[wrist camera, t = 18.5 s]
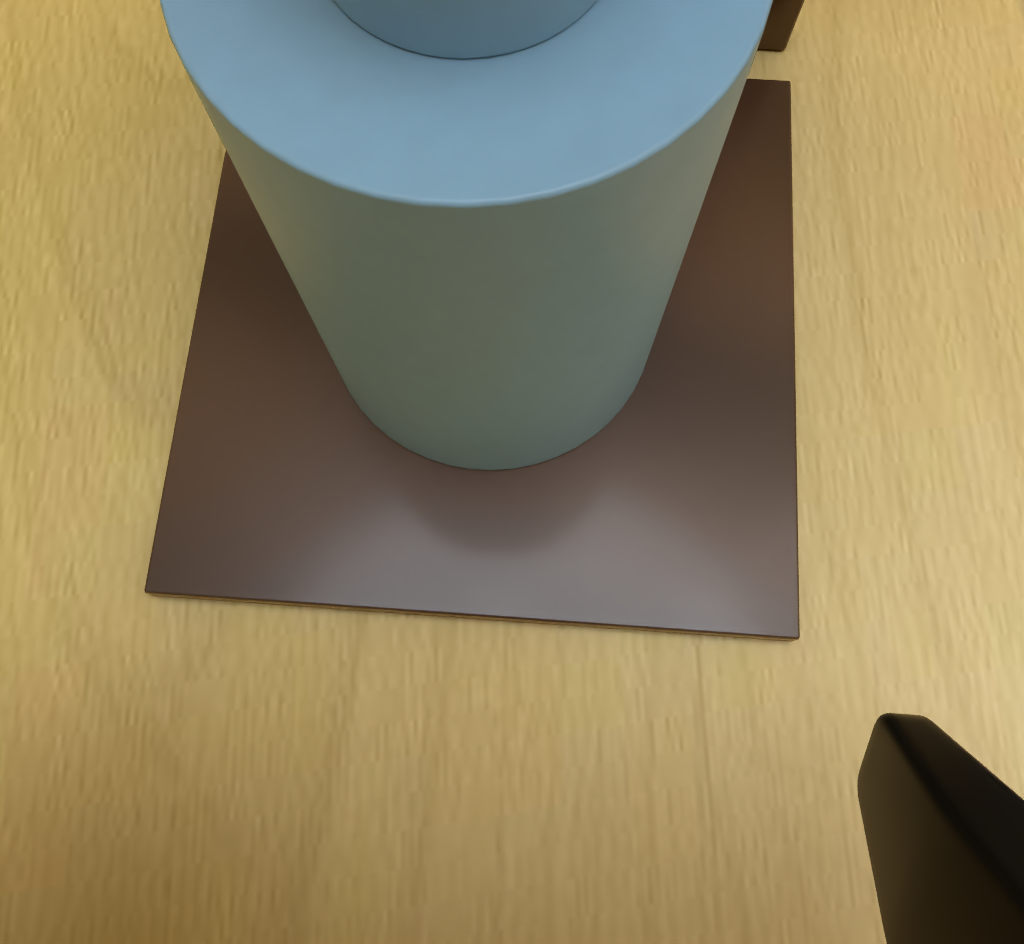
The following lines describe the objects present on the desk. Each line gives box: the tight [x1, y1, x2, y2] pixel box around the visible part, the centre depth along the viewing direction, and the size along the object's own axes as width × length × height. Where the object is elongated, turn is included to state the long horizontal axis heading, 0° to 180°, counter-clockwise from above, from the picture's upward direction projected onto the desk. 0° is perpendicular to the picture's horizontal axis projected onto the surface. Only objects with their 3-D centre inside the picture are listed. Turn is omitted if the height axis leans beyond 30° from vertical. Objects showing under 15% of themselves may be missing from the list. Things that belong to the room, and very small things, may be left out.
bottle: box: [160, 0, 773, 470], centre depth 12 cm, size 6×6×12 cm
